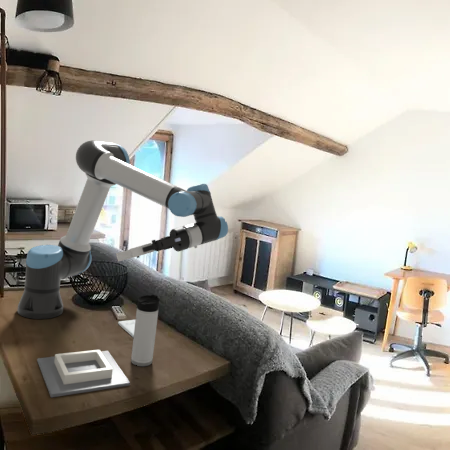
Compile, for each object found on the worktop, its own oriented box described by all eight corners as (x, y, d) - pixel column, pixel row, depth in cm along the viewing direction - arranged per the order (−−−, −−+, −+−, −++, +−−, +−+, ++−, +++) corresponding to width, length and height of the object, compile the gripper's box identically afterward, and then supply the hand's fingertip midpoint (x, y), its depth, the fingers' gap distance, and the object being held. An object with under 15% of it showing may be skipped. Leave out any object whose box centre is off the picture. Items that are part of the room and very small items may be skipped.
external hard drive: (133, 339, 151) (117, 325, 161) (154, 335, 156) (138, 322, 166) (133, 334, 151) (118, 321, 160) (155, 331, 156) (139, 318, 166)
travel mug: (156, 361, 136) (164, 297, 134) (144, 368, 130) (151, 302, 128) (139, 354, 139) (147, 292, 136) (126, 362, 133) (133, 297, 130)
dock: (37, 361, 126) (38, 349, 126) (107, 353, 137) (108, 342, 137) (50, 397, 110) (51, 384, 109) (129, 385, 120) (131, 373, 120)
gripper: (206, 244, 137) (142, 264, 125) (172, 252, 158) (115, 270, 147) (199, 220, 137) (134, 238, 125) (166, 231, 158) (108, 248, 147)
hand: (124, 255), depth 136 cm, fingers open, 13 cm apart
